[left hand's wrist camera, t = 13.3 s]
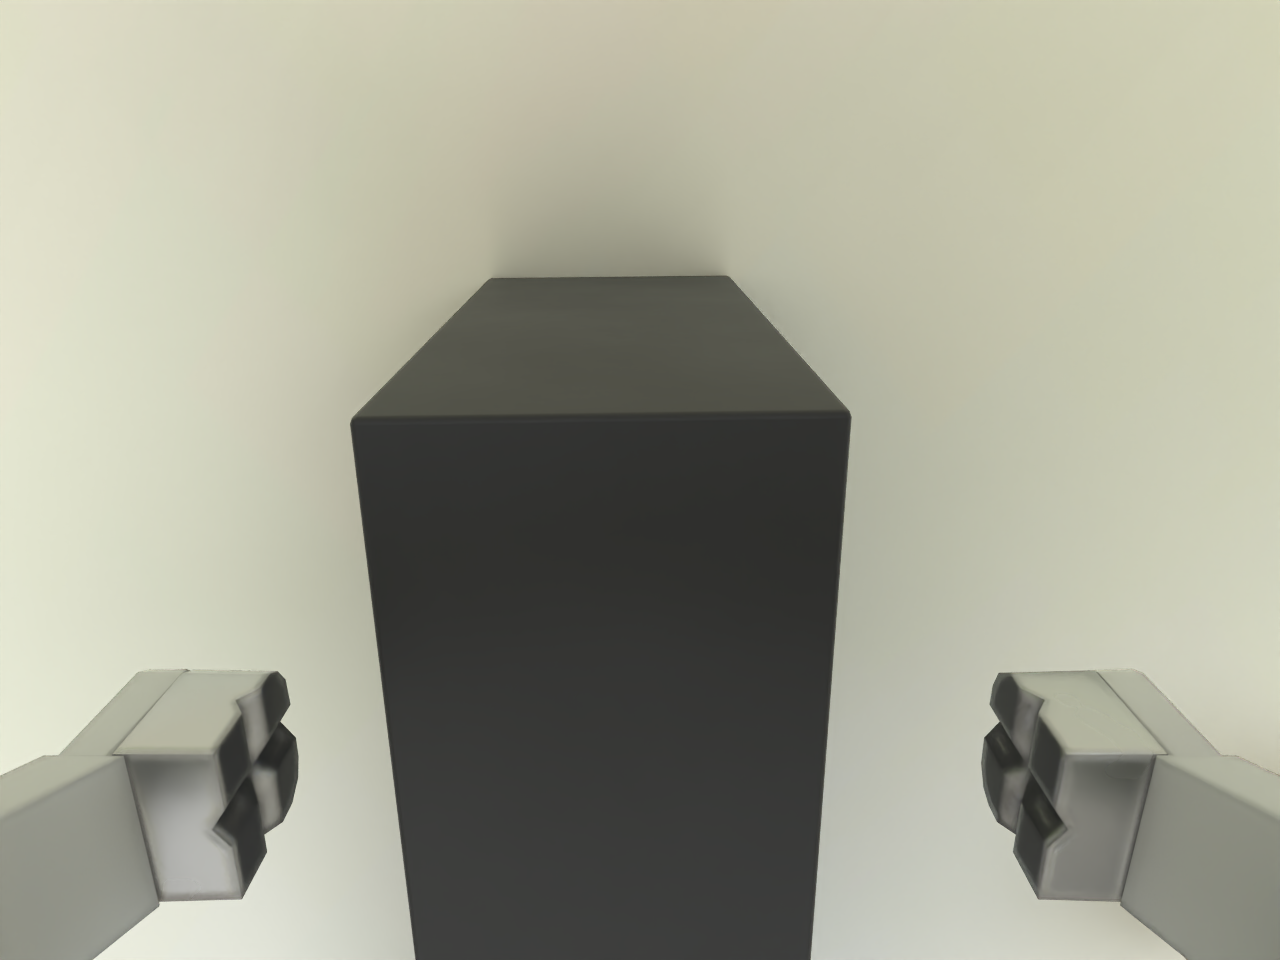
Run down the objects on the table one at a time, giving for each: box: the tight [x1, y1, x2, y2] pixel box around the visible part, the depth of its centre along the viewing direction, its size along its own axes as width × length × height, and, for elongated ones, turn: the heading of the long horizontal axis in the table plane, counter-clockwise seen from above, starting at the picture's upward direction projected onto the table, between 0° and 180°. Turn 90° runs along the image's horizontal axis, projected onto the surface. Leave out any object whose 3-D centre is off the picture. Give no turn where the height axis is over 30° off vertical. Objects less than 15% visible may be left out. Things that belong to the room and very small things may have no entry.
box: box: [350, 276, 851, 960], centre depth 21 cm, size 28×6×12 cm, turn 0°
